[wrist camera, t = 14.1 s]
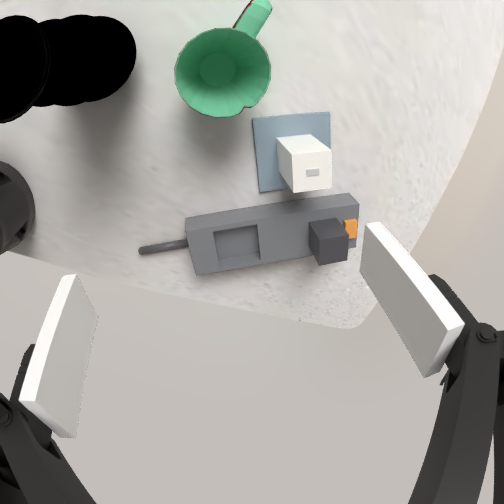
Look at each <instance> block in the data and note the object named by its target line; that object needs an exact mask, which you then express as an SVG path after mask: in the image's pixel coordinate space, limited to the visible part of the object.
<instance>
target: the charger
mask: <svg viewBox="0 0 504 504" xmlns="http://www.w3.org/2000/svg"><path fill="white" fill-rule="evenodd" d="M276 142H277V155H278V169H279V172H280V173H281V175H282V176H283V178H284V179H285V181H286V182H287V184H288V185H289V187H290V188H291V190H292V191H293V193H298V192H305V191H312V190H320V189H327V188H332V150H330V149H329V148H328V147H327V146H325V145H324V144H323V143H321V142H320V141H319V140H318V139H316V138H315V137H314V136H312V135H311V134H308V135H297V136H288V137H279V138H276Z"/></svg>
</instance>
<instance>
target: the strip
mask: <svg viewBox="0 0 504 504" xmlns="http://www.w3.org/2000/svg"><path fill="white" fill-rule="evenodd" d="M358 216H359V203H358V202H357V201H356V200H355V199H354V198H353V197H352V196H351V195H350V194H349V193H345V194H337V195H329V196H322V197H315V198H308V199H301V200H294V201H287V202H280V203H273V204H267V205H260V206H254V207H248V208H242V209H236V210H229V211H224V212H218V213H212V214H206V215H200V216H195V217H189V218H186V225H185V232H186V237H187V239H184V240H178V241H173V242H167V243H162V244H156V245H151V246H145V247H141V248H139V250H138V252H139V254H141V255H144V254H149V253H155V252H161V251H166V250H172V249H177V248H183V247H189V249H190V253H191V257H192V261H193V265H194V269H195V273H196V276H197V275H203V274H209V273H215V272H220V271H226V270H232V269H238V268H244V267H249V266H255V265H261V264H266V263H272V262H278V261H283V260H289V259H295V258H300V257H306V256H311V255H314V257H315V259H316V261H317V263H318V265H319V266H320V265H325V264H330V263H336V262H341V261H346V260H347V256H348V249H349V248H355V247H356V239H357V228H358Z"/></svg>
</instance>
